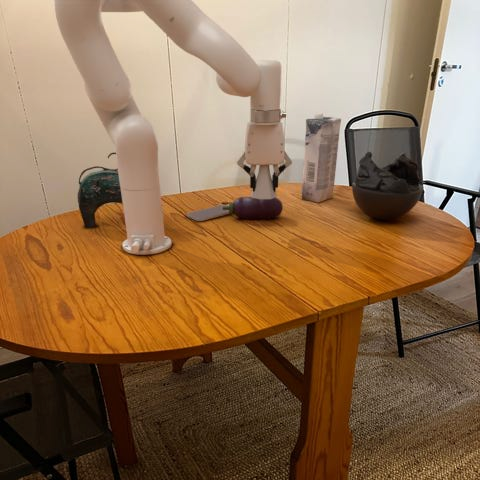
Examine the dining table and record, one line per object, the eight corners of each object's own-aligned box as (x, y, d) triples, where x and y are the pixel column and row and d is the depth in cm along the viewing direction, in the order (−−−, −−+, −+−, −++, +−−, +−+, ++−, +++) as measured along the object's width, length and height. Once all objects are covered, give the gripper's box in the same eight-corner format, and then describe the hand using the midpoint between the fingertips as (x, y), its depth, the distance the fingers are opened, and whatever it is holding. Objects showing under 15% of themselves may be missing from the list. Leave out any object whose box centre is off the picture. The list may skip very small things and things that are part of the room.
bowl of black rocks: (430, 221, 133) (445, 155, 123) (386, 234, 123) (398, 163, 114) (378, 205, 147) (387, 145, 138) (334, 216, 137) (341, 152, 128)
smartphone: (185, 213, 138) (224, 204, 146) (185, 216, 138) (224, 207, 146) (198, 219, 133) (238, 209, 141) (198, 222, 133) (238, 212, 141)
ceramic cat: (149, 217, 138) (141, 149, 128) (152, 223, 132) (144, 153, 122) (82, 224, 132) (68, 153, 122) (82, 230, 127) (68, 157, 117)
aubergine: (283, 221, 133) (284, 196, 130) (222, 222, 133) (222, 197, 129) (281, 214, 140) (281, 190, 136) (223, 214, 139) (222, 191, 136)
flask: (273, 201, 117) (274, 161, 112) (247, 199, 119) (247, 160, 114) (279, 194, 123) (281, 156, 118) (254, 192, 125) (254, 155, 120)
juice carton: (336, 198, 155) (345, 113, 142) (319, 204, 149) (326, 116, 135) (315, 193, 161) (321, 111, 147) (297, 199, 154) (302, 114, 140)
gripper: (297, 115, 114) (293, 186, 124) (231, 116, 114) (232, 187, 123) (301, 118, 108) (296, 193, 117) (231, 119, 108) (232, 194, 117)
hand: (263, 189), depth 120 cm, fingers closed on flask, 4 cm apart
